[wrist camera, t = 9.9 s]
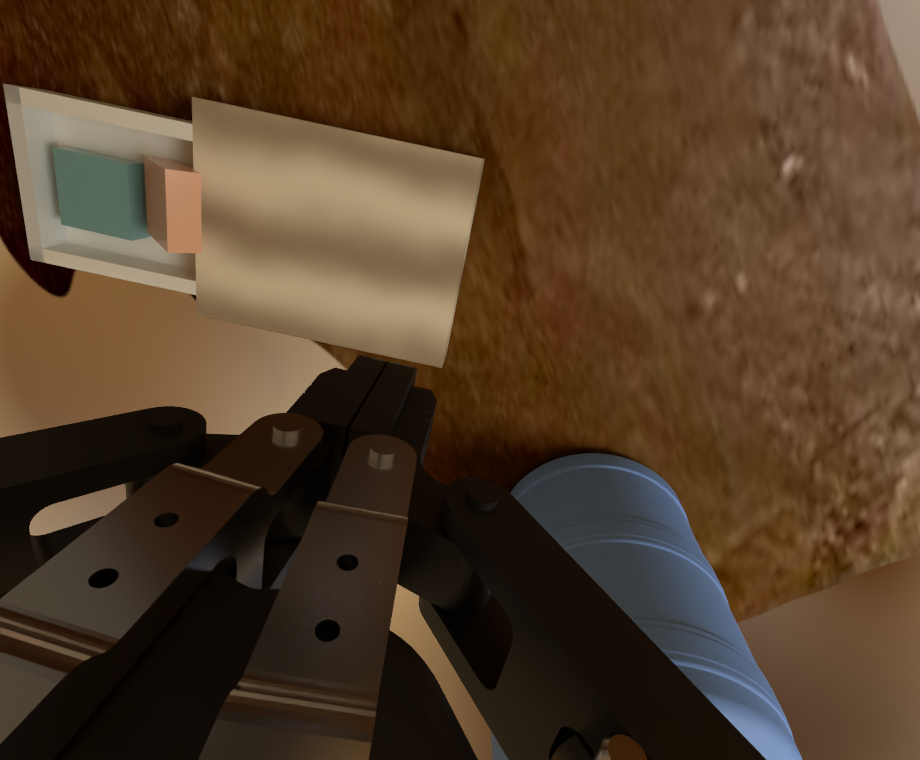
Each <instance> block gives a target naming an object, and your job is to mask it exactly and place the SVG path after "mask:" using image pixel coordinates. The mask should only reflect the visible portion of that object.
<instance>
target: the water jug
mask: <svg viewBox="0 0 920 760" xmlns="http://www.w3.org/2000/svg"><path fill="white" fill-rule="evenodd" d="M510 493H511V495H512V496H513V497H514V498H515V499H516V500H517V501H518V502H519V503H520V504H521V505H522V506H523V507H524V508H525V509H526V510H527V511H528V512H529V513H530V514H531V515H532V516H533V517H534V518H535V519H536V521H537V522H538V523H539V524H540V525H541V526H542V527H543V528H544V529H545V530H546V531H547V532H548V533H549V534H550V535H551V536H552V537H553V538H554V539H555V540H556V541H557V542H558V543H559V544H560V545H561V547H562V548H563V549H564V550H565V551H566V552H567V553H568V554H569V555H570V556H571V557H572V558H573V559H574V560H575V561H576V562H577V563H578V564H579V565H580V566H581V567H582V568H583V569H584V570H585V571H586V573H587V574H588V575H589V576H590V577H591V578H592V579H593V580H594V581H595V582H596V583H597V584H598V585H599V586H600V587H601V588H602V589H603V590H604V591H605V592H606V593H607V594H608V595H609V596H610V597H611V599H612V600H613V601H614V602H615V603H616V604H617V605H618V606H619V607H620V608H621V609H622V610H623V611H624V612H625V613H626V614H627V615H628V616H629V617H630V618H631V619H632V620H633V621H634V622H635V623H636V625H637V626H638V627H639V628H640V629H641V630H642V631H643V632H644V633H645V634H646V635H647V636H648V637H649V638H650V639H651V640H652V641H653V642H654V643H655V644H656V645H657V646H658V647H659V648H660V649H661V651H662V652H663V653H664V654H665V655H666V656H667V657H668V658H669V659H670V660H671V661H672V662H673V663H674V664H675V665H676V666H677V667H678V668H679V669H680V670H681V671H682V672H683V673H684V674H685V675H686V677H687V678H688V679H689V680H690V681H691V682H692V683H693V684H694V685H695V686H696V687H697V688H698V689H699V690H700V691H701V692H702V693H703V694H704V695H705V696H706V697H707V698H708V699H709V700H710V701H711V703H712V704H713V705H714V706H715V707H716V708H717V709H718V710H719V711H720V712H721V713H722V714H723V715H724V716H725V717H726V718H727V719H728V720H729V721H730V722H731V723H732V724H733V725H734V726H735V727H736V729H737V730H738V731H739V732H740V733H741V734H742V735H743V736H744V737H745V738H746V739H747V740H748V741H749V742H750V743H751V744H752V745H753V746H754V747H755V748H756V749H757V750H758V751H759V752H760V753H761V755H762V756H763V757H764V758H765V759H766V760H802V758H801V755H800V753H799V751H798V749H797V747H796V745H795V743H794V740H793V736H792V733H791V730H790V727H789V725H788V722H787V719H786V717H785V715H784V713H783V711H782V709H781V707H780V705H779V703H778V701H777V699H776V697H775V694H774V692H773V690H772V688H771V687H770V685H769V683H768V682H767V680H766V678H765V677H764V675H763V673H762V672H761V671H760V670H759V668H758V666H757V664H756V662H755V660H754V658H753V656H752V654H751V652H750V650H749V648H748V646H747V643H746V641H745V639H744V637H743V635H742V633H741V631H740V629H739V627H738V625H737V623H736V621H735V619H734V617H733V615H732V613H731V611H730V609H729V605H728V601H727V599H726V596H725V593H724V591H723V589H722V587H721V585H720V583H719V581H718V578H717V576H716V574H715V572H714V571H713V569H712V567H711V566H710V564H709V562H708V561H707V559H706V558H705V557H704V555H703V553H702V551H701V549H700V547H699V545H698V543H697V541H696V539H695V537H694V535H693V532H692V530H691V528H690V526H689V523H688V519H687V516H686V514H685V512H684V509H683V507H682V505H681V503H680V501H679V499H678V498H677V496H676V494H675V493H674V491H673V490H672V488H671V487H670V486H669V485H668V484H667V483H666V482H665V481H664V480H663V479H662V478H661V477H660V476H659V475H658V474H656V473H655V472H654V471H652V470H651V469H649V468H647V467H646V466H644V465H642V464H640V463H638V462H636V461H633V460H630V459H627V458H624V457H620V456H616V455H611V454H602V453H583V454H575V455H570V456H565V457H561V458H558V459H555V460H552V461H550V462H548V463H545V464H543V465H541V466H540V467H538V468H536V469H535V470H533V471H532V472H530V473H529V474H527V475H526V476H525V477H524V478H523V479H522V480H520V481H519V482H518V484H517V485H516V486H515V487H514V488H513V489H512V491H511V492H510ZM492 755H493V760H508V758H507V756H506V755H505V753H504V751H503V750H502V748H501V746H500V745H499V743H498V741H497V740H496V738H495V736H494V735H493V733H492Z"/></svg>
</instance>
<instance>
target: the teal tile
mask: <svg viewBox="0 0 920 760" xmlns="http://www.w3.org/2000/svg"><path fill="white" fill-rule="evenodd" d="M52 148H53V157H54V166H55V174H56V183H57V192H58V200H59V209H60V218H61V225H65V226H69V227H74V228H78V229H82V230H87V231H91V232H95V233H100V234H104V235H109V236H113V237H117V238H122V239H126V240H130V241H134V240H138V239H143V238H147V237H151V236H150V235H149V234H148V233H147V213H146V193H145V172H144V163H143V162H138V161H134V160H130V159H125V158H121V157H117V156H112V155H108V154H103V153H99V152H95V151H90V150H86V149H82V148H77V147H52Z"/></svg>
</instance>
